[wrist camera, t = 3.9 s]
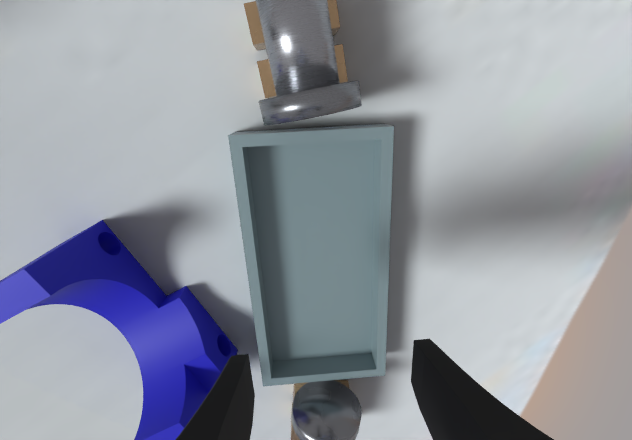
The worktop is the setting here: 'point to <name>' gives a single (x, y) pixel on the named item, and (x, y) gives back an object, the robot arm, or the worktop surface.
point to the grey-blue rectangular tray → (317, 248)
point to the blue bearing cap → (131, 322)
